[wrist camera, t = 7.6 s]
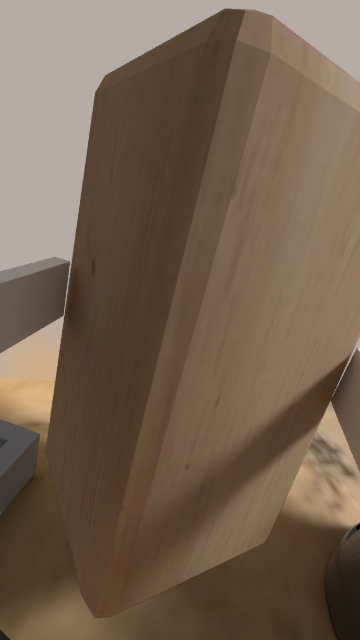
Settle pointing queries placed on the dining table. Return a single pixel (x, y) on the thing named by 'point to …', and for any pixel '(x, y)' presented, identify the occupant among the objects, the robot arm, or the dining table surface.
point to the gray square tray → (15, 460)
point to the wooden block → (203, 301)
